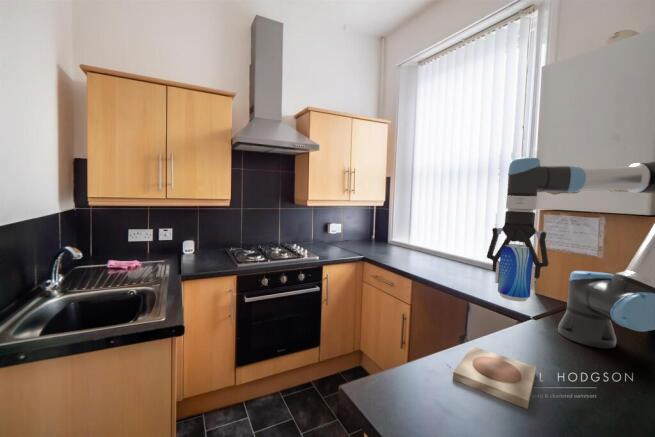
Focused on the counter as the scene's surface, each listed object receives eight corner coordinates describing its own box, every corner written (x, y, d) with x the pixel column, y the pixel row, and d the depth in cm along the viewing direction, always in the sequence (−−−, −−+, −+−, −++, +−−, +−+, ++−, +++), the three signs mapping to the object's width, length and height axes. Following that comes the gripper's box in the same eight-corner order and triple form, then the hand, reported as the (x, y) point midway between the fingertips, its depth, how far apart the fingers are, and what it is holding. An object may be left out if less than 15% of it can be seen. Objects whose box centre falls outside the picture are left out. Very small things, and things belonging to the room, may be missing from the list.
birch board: (535, 373, 81) (536, 365, 81) (527, 409, 67) (528, 398, 67) (471, 352, 91) (472, 344, 91) (452, 379, 77) (453, 370, 77)
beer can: (534, 303, 87) (539, 248, 86) (503, 300, 89) (507, 246, 88) (522, 294, 96) (526, 244, 94) (493, 291, 97) (497, 242, 96)
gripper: (478, 208, 94) (473, 280, 96) (564, 213, 81) (557, 296, 83) (484, 208, 100) (479, 276, 102) (565, 212, 87) (558, 290, 88)
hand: (514, 285), depth 92 cm, fingers closed on beer can, 8 cm apart
